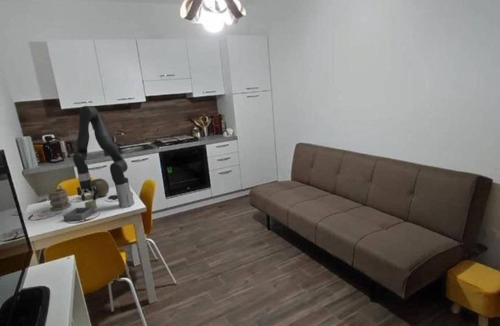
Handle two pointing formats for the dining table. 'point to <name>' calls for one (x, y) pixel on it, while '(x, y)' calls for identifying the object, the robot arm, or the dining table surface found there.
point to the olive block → (91, 204)
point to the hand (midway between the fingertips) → (89, 200)
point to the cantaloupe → (100, 186)
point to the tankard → (59, 199)
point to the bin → (78, 214)
